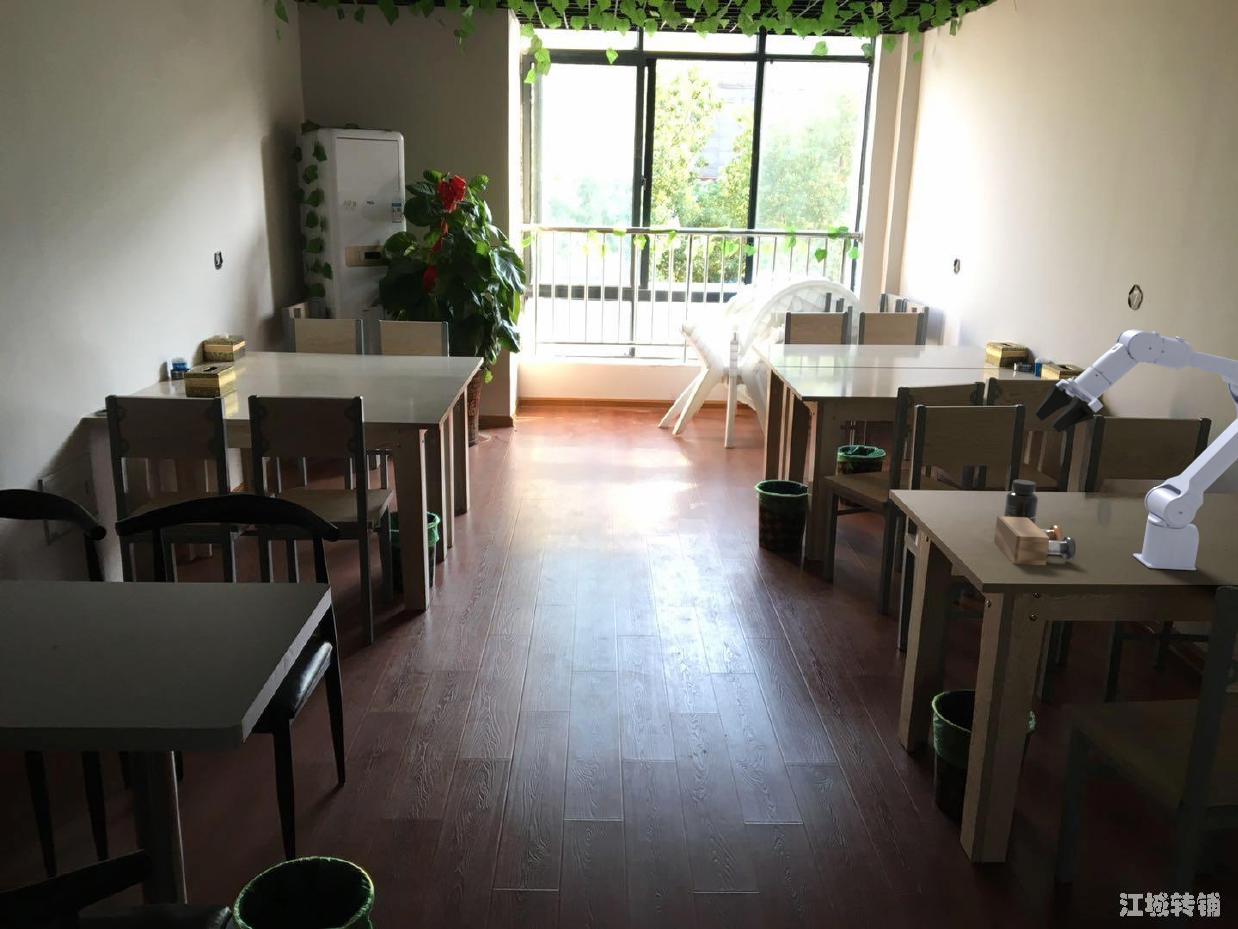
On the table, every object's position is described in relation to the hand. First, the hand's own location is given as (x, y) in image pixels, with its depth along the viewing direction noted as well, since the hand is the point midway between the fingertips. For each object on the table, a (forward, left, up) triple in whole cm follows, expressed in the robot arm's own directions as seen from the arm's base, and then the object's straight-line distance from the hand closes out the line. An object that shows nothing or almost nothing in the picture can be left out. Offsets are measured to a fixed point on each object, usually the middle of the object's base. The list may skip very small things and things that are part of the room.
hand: (1046, 423), depth 201 cm
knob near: (-5, +2, -28) cm, 29 cm away
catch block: (+1, -2, -29) cm, 29 cm away
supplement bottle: (-3, -17, -29) cm, 34 cm away
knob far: (-5, -6, -28) cm, 29 cm away
